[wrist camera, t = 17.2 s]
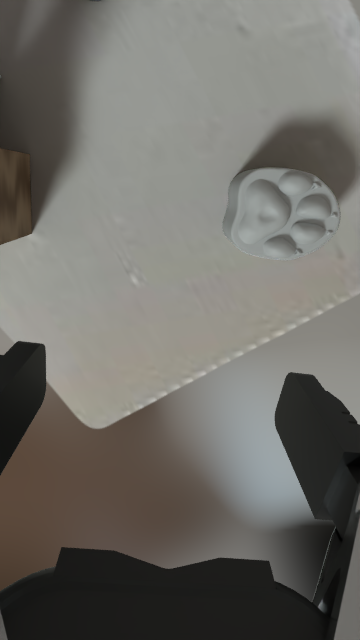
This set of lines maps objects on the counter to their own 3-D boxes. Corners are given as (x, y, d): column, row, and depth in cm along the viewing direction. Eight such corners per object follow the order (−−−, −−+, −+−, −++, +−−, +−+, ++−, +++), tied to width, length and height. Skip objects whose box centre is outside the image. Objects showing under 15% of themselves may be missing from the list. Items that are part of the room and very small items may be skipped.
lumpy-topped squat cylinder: (232, 164, 43) (247, 160, 35) (327, 179, 44) (361, 178, 36) (218, 243, 47) (228, 256, 39) (305, 255, 48) (332, 269, 40)
